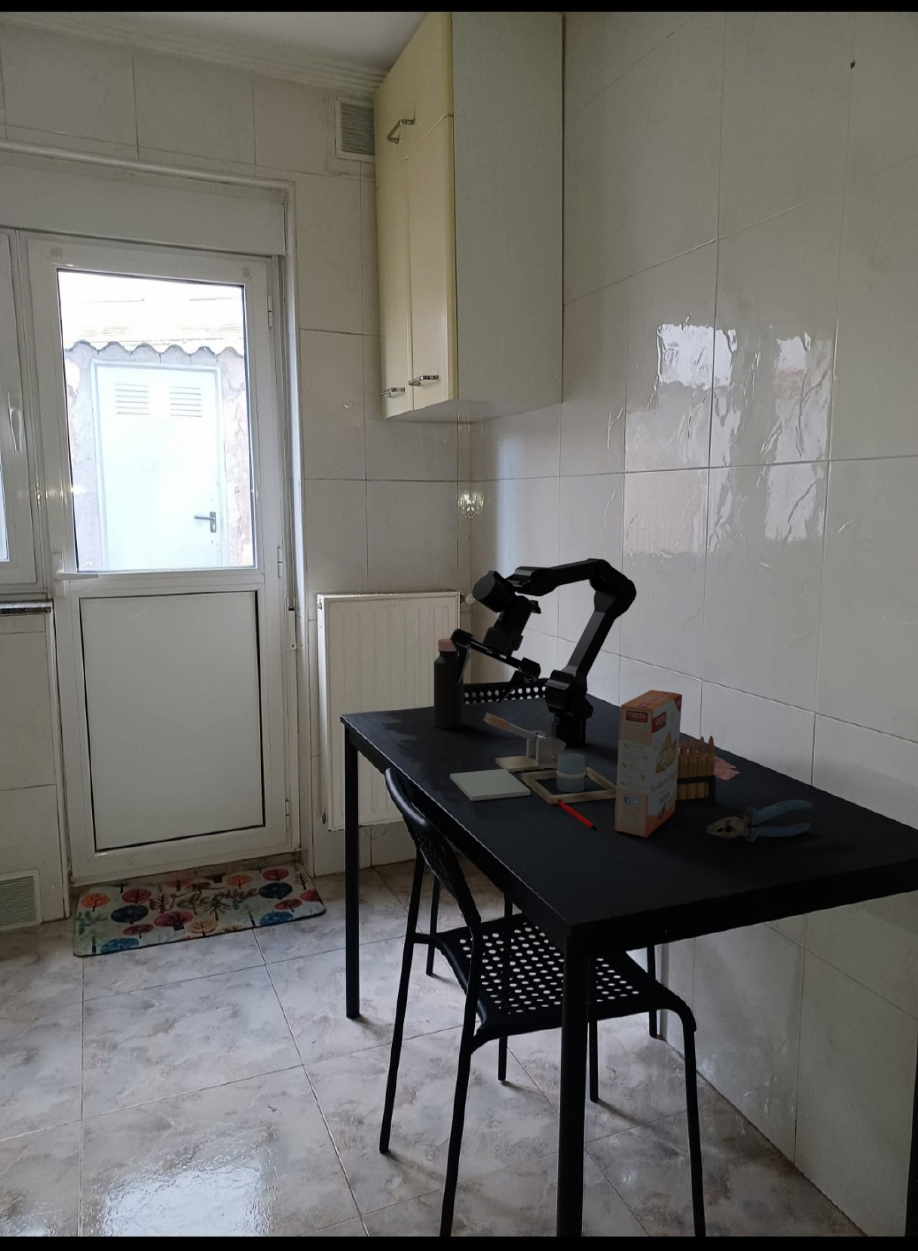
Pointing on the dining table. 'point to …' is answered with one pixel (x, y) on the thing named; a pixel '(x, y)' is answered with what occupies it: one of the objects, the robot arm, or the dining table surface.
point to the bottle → (447, 688)
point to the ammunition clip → (696, 774)
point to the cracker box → (647, 762)
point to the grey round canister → (570, 772)
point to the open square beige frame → (575, 797)
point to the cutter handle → (524, 732)
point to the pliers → (751, 819)
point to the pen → (577, 815)
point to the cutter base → (531, 756)
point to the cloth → (719, 767)
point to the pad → (489, 784)
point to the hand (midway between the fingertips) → (477, 693)
